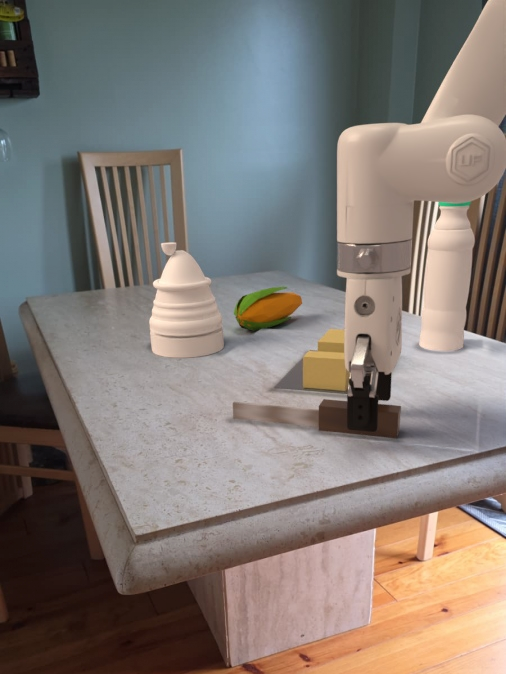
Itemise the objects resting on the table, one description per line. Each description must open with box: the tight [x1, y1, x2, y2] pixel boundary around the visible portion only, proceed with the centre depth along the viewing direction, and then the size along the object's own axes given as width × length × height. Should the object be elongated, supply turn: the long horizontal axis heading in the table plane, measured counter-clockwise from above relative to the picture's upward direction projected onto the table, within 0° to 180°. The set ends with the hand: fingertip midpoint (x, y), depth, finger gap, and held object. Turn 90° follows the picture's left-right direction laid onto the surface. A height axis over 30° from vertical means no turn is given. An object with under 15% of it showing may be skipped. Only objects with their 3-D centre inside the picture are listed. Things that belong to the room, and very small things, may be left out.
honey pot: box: [148, 241, 225, 359], centre depth 107 cm, size 13×13×18 cm
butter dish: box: [273, 349, 371, 395], centre depth 93 cm, size 14×20×1 cm
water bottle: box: [418, 201, 476, 352], centre depth 99 cm, size 7×7×25 cm
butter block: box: [317, 328, 345, 353], centre depth 95 cm, size 6×8×4 cm
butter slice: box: [302, 350, 350, 391], centre depth 86 cm, size 6×3×4 cm, turn 71°
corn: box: [233, 286, 303, 331], centre depth 124 cm, size 7×8×20 cm
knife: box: [232, 398, 402, 441], centre depth 73 cm, size 20×2×4 cm, turn 71°
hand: (369, 413), depth 71 cm, fingers open, 9 cm apart
